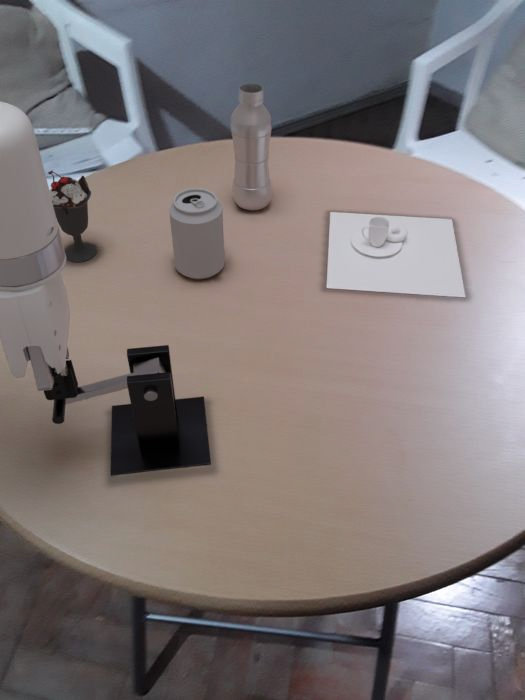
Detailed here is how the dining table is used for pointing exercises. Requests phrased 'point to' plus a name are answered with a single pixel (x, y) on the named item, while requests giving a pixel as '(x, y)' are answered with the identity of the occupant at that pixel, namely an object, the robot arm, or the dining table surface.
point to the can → (197, 233)
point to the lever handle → (105, 387)
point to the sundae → (73, 214)
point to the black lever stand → (157, 422)
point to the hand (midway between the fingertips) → (62, 393)
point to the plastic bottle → (251, 148)
